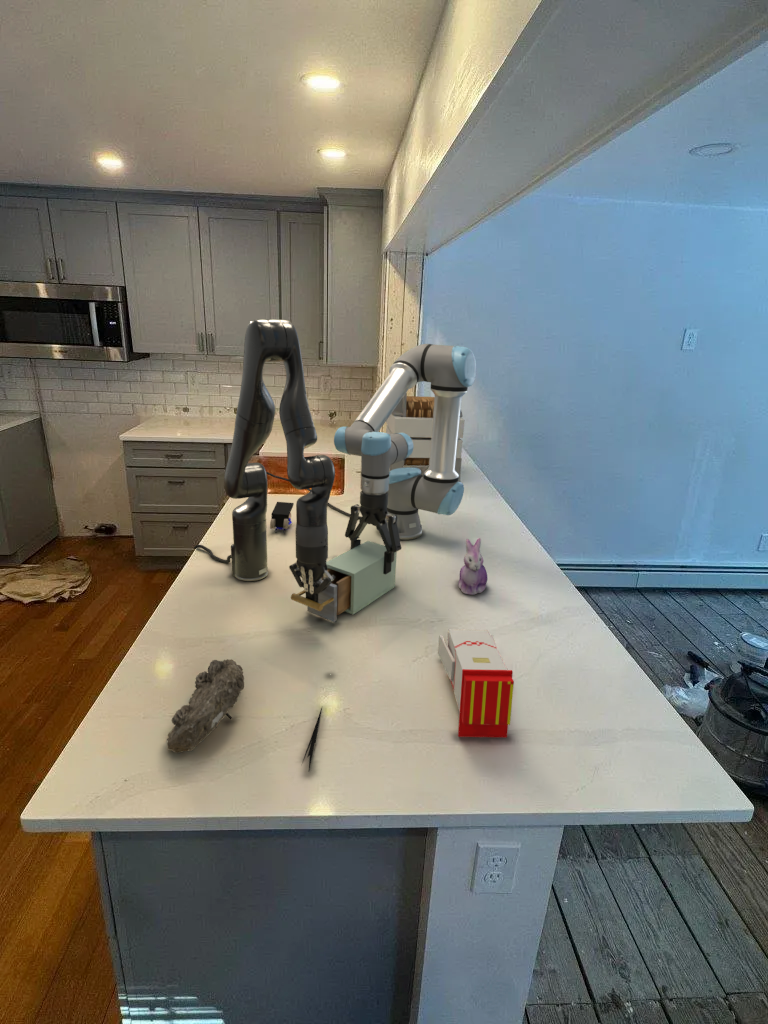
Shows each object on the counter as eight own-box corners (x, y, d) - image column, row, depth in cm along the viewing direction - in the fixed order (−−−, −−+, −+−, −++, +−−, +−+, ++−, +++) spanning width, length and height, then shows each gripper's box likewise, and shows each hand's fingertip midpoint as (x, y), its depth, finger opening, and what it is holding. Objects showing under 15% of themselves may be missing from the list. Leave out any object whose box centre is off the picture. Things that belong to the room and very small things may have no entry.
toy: (488, 613, 130) (523, 677, 101) (484, 667, 133) (517, 744, 104) (435, 612, 130) (455, 676, 101) (432, 666, 133) (451, 743, 103)
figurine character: (289, 539, 194) (294, 519, 208) (288, 519, 191) (294, 500, 204) (269, 538, 194) (276, 518, 208) (268, 518, 191) (275, 499, 204)
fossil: (192, 660, 117) (244, 628, 112) (224, 691, 120) (276, 661, 115) (142, 746, 98) (202, 712, 93) (182, 779, 101) (242, 748, 96)
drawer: (318, 632, 136) (318, 596, 132) (291, 620, 140) (290, 585, 137) (376, 594, 155) (378, 562, 152) (350, 585, 160) (351, 553, 156)
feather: (331, 679, 122) (336, 673, 122) (307, 777, 96) (313, 769, 95) (324, 675, 122) (329, 669, 121) (298, 772, 95) (304, 764, 95)
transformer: (382, 463, 289) (386, 382, 275) (445, 464, 293) (451, 384, 279) (390, 482, 257) (394, 392, 243) (460, 483, 261) (468, 394, 247)
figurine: (469, 599, 156) (474, 549, 151) (448, 583, 165) (453, 535, 160) (496, 592, 161) (502, 544, 156) (475, 577, 169) (480, 531, 164)
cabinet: (353, 614, 146) (354, 573, 142) (323, 603, 151) (323, 563, 147) (394, 587, 162) (396, 549, 158) (366, 577, 167) (367, 540, 163)
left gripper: (279, 537, 133) (281, 602, 139) (323, 552, 126) (323, 619, 132) (301, 528, 139) (301, 590, 145) (344, 541, 132) (342, 606, 138)
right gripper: (332, 485, 153) (331, 560, 161) (402, 503, 142) (398, 583, 149) (349, 479, 159) (347, 552, 167) (418, 496, 148) (412, 573, 155)
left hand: (312, 604), depth 139 cm, fingers closed
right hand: (371, 567), depth 158 cm, fingers closed on cabinet, 10 cm apart
